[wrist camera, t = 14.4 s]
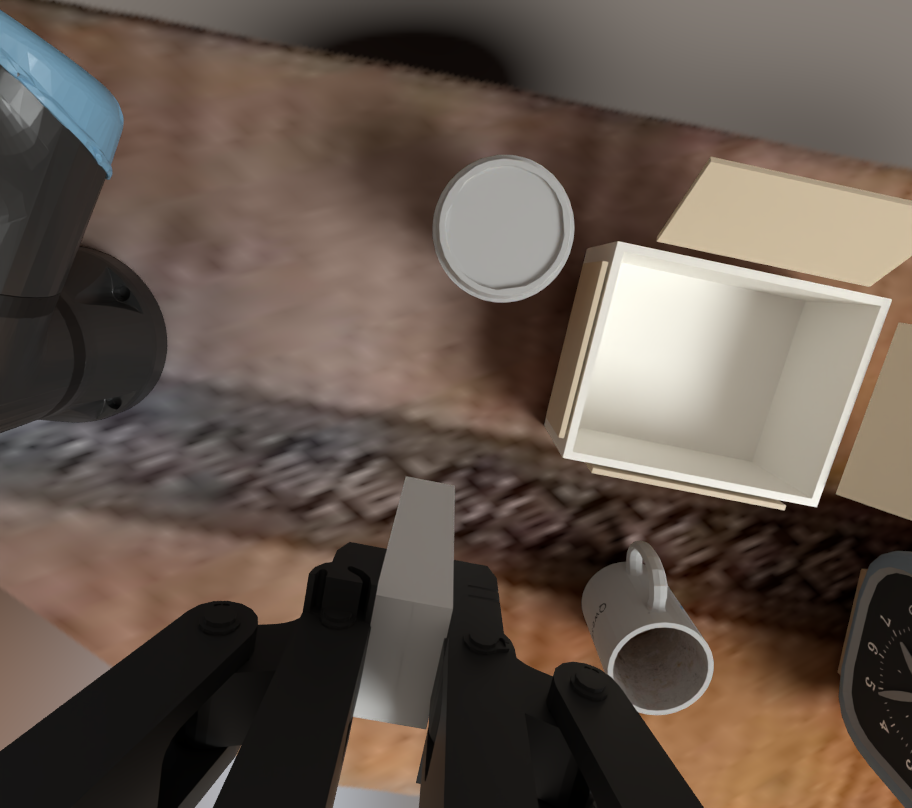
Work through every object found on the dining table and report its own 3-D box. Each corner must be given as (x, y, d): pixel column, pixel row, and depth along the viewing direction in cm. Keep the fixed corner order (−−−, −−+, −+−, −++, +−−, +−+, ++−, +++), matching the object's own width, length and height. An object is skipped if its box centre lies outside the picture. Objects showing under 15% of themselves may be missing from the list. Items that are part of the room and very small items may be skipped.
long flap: (710, 161, 32) (710, 156, 32) (656, 241, 39) (656, 236, 39) (964, 217, 33) (962, 211, 33) (869, 286, 39) (868, 282, 39)
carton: (534, 431, 52) (551, 465, 43) (579, 246, 49) (608, 238, 39) (750, 473, 53) (814, 516, 44) (809, 295, 50) (893, 299, 40)
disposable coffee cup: (517, 160, 47) (537, 121, 36) (567, 264, 49) (602, 260, 37) (417, 217, 48) (404, 197, 36) (470, 317, 50) (474, 328, 38)
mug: (654, 647, 57) (695, 723, 47) (571, 631, 57) (595, 704, 47) (691, 536, 54) (742, 592, 45) (604, 518, 54) (636, 572, 44)
